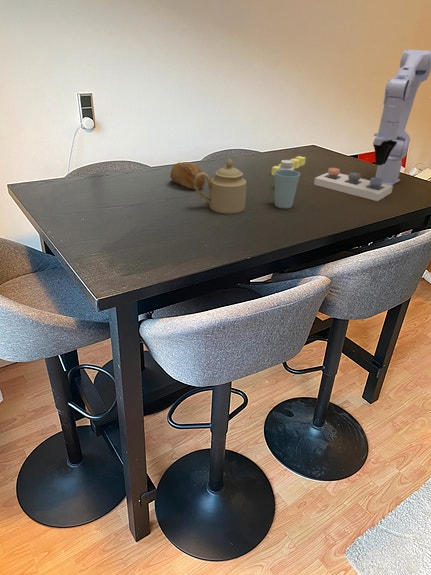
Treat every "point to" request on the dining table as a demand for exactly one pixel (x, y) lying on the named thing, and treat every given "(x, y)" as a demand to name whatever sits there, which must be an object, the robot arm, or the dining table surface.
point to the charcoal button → (354, 177)
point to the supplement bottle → (286, 165)
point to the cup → (285, 187)
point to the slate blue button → (375, 183)
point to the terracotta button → (333, 173)
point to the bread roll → (187, 175)
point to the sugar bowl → (225, 190)
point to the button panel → (353, 186)
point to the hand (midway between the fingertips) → (380, 164)
